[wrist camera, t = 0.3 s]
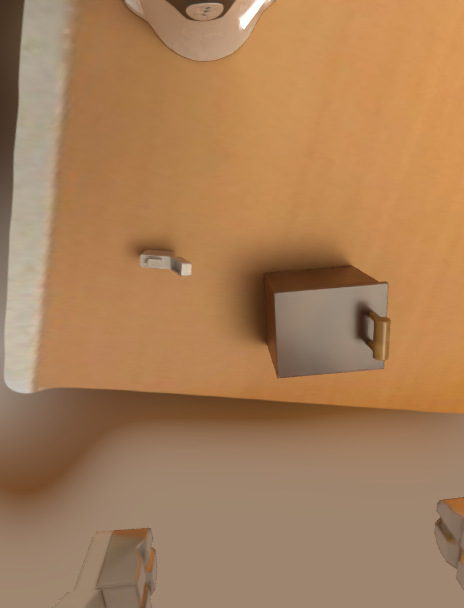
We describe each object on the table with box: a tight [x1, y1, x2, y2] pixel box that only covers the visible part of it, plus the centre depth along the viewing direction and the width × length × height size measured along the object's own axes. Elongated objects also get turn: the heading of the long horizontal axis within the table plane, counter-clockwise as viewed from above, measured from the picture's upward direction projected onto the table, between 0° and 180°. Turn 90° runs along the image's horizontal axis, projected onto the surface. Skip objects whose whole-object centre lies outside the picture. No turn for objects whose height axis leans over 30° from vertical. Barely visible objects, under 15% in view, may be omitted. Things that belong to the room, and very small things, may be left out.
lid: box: [273, 282, 390, 378], centre depth 46 cm, size 14×12×5 cm
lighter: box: [140, 249, 192, 276], centre depth 51 cm, size 7×2×8 cm, turn 85°
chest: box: [263, 266, 378, 374], centre depth 53 cm, size 13×12×10 cm
